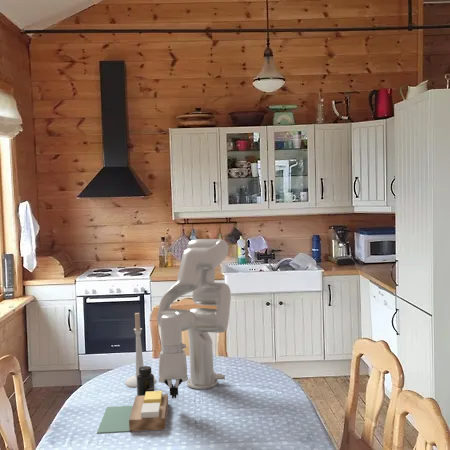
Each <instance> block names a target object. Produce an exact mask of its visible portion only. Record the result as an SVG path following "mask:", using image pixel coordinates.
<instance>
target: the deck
mask: <svg viewBox="0 0 450 450" xmlns="http://www.w3.org/2000/svg"><path fill="white" fill-rule="evenodd" d="M144 398H145V395H143V396H137V395H135V398H134V401H133V405H132V406H133V408H132V411H131V415H130V418H129V430H130V432H143V430H148V431H160V430H161V431H162V430H163V431H164V430H166V426H167V425H166V424H167V418H168V417H167V416H168V409H169V394H168V393H165V394H163V393H162V401H161V404H160V413H159V417H155V418H141V410H142V406H143V403H144Z"/></svg>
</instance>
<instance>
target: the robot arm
mask: <svg viewBox="0 0 450 450" xmlns="http://www.w3.org/2000/svg"><path fill="white" fill-rule="evenodd" d="M228 254H229V245H228V243H227V241H226V240H224V239H222V238H196V239H191V240H190V241H189V242H188V244H187V248H186V249H185V250H184V251H183V253H182V256H181V261H180V265H179V268H178V269H179V270H178V274H177V279H176V282H175V283H174V284H173V285H171V286H170V288H168V290H167V291H165V293H164V294H163V296H162V297H161V299H160V302H159V306H158V311H157V316H156V320H157V325H158V326H159V327H160V340H161V351H159V355H158V356H159V357H158V376H159V378H158V382H159V383H161V384H165V385H166V386H168V388H169V396H171V399H177V396H179V386H180V385H181V384H182V383H184V382H187V383H186V384H187V385H186V386H188V387H189V388H190V389H194V390H205V389H206V390H207V389H211V388H214V387H216V386H217V385H218V381H219V380H225V379H226V377H225V374H223V373H215V370H214V355H213V354H214V353H213V352H214V351H213V348H214V347H213V340H212V337H211V336H210V334H209V333H214V334H215V333H216V334H218V333H219V334H221V333H222V334H223V333H224V332H225V331H226V330H227V329H228V326H229V321H230V309H231V300H232V299H231V298H232V295H231V294H232V293H231V288H230V286H229V285H228V284H227V283H226V282H215V278H216V277H215V276H216V270H215V269H216V268H217V267H219V266H220V265H221V264H222V262H224V260H225V259H226V258H227V256H228ZM191 292H192V294H191V295H192V302H193V303H194V304H196V305H200V306H211V307H212V306H213V307H214V306H216V308H208V307H207V308H206V307H193V308H191V309H182V308H181V309H179V308H171V306H172V304H174V302H175V301H176V300H177V299H179V298H180V297H182V296H185V295H187V294H190V293H191ZM185 331H187V334H188V346H189V347H188V349H189V351H188V352H189V366H190V367H189V371H190V378H189V376H188V367H187V366H188V365H187V356H186V352H185V349H186V348H187V344H186V343H183V338H182V337H183V336H182V335H183V334H182V332H185ZM172 380H175V383H174V384H173V381H172Z"/></svg>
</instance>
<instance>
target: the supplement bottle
mask: <svg viewBox="0 0 450 450" xmlns="http://www.w3.org/2000/svg"><path fill="white" fill-rule="evenodd" d="M154 378H155V375H154V374H153V373H152V367H151V366H150V365H144V366H143V367H140V368H139V375H138V376H137V388H136V396H143V395H145V393H146V392H148V391H156V390H155V387H156V386H155V383H154Z"/></svg>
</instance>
